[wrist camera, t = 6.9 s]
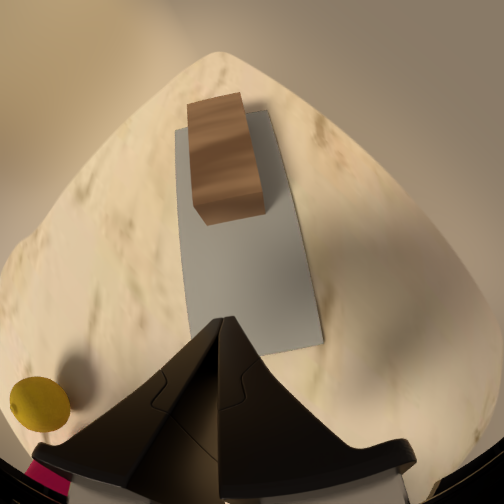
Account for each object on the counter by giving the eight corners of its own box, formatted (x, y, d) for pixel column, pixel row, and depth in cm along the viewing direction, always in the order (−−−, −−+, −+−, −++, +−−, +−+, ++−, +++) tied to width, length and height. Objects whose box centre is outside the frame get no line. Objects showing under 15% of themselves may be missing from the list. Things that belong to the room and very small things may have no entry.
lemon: (44, 392, 20) (-8, 398, 12) (62, 364, 21) (5, 366, 13) (72, 431, 19) (21, 448, 11) (93, 406, 19) (36, 422, 12)
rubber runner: (323, 343, 20) (323, 343, 19) (196, 363, 20) (195, 364, 20) (267, 111, 26) (267, 110, 26) (175, 132, 26) (174, 130, 26)
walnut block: (262, 191, 19) (240, 92, 22) (192, 206, 19) (187, 104, 22) (265, 214, 22) (245, 119, 26) (206, 226, 23) (197, 130, 26)
